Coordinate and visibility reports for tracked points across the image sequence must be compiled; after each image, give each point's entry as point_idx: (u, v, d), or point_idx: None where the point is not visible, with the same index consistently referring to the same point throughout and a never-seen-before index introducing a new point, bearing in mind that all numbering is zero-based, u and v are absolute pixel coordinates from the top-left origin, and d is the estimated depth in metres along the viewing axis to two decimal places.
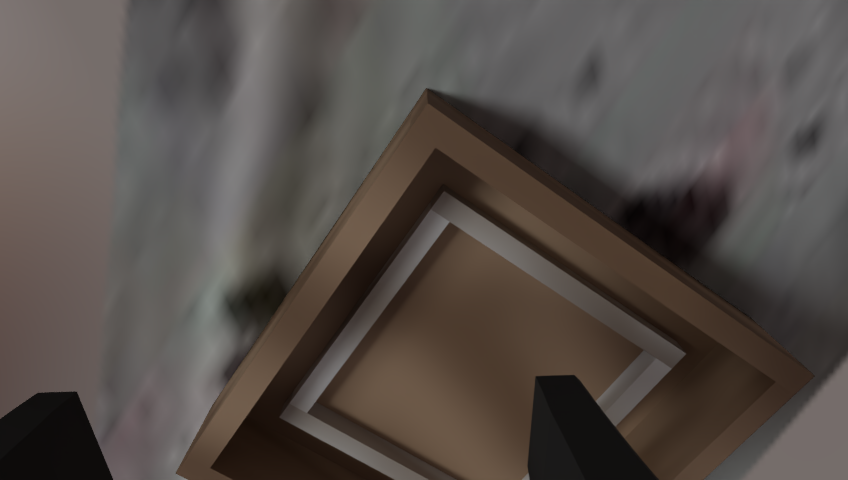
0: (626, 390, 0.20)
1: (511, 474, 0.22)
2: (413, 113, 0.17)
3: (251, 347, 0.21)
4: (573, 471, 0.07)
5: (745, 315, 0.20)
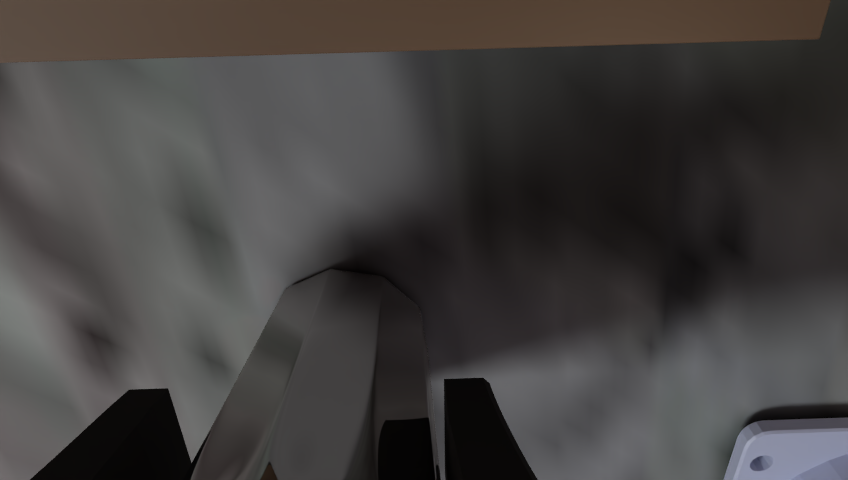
0: None
1: None
2: None
3: None
4: (459, 476, 0.07)
5: None
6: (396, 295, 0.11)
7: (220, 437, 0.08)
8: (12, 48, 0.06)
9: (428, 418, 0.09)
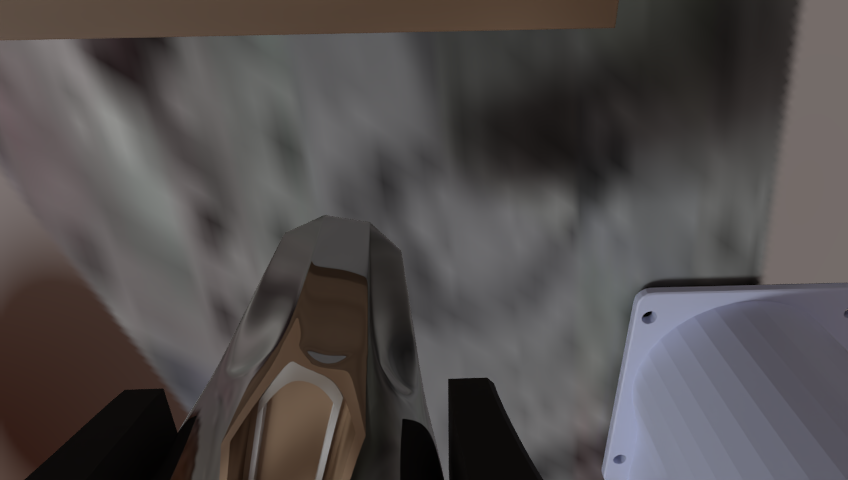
0: None
1: None
2: None
3: None
4: (465, 475, 0.07)
5: None
6: (381, 237, 0.13)
7: (246, 334, 0.10)
8: (230, 28, 0.13)
9: (412, 327, 0.11)
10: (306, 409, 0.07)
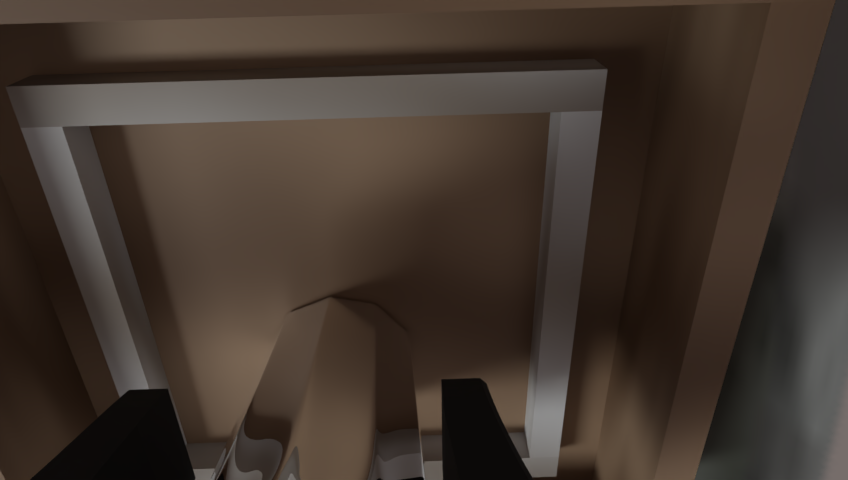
0: (556, 192, 0.11)
1: (506, 391, 0.14)
2: None
3: None
4: (456, 475, 0.07)
5: None
6: (388, 321, 0.13)
7: (244, 449, 0.09)
8: None
9: (419, 432, 0.10)
10: None
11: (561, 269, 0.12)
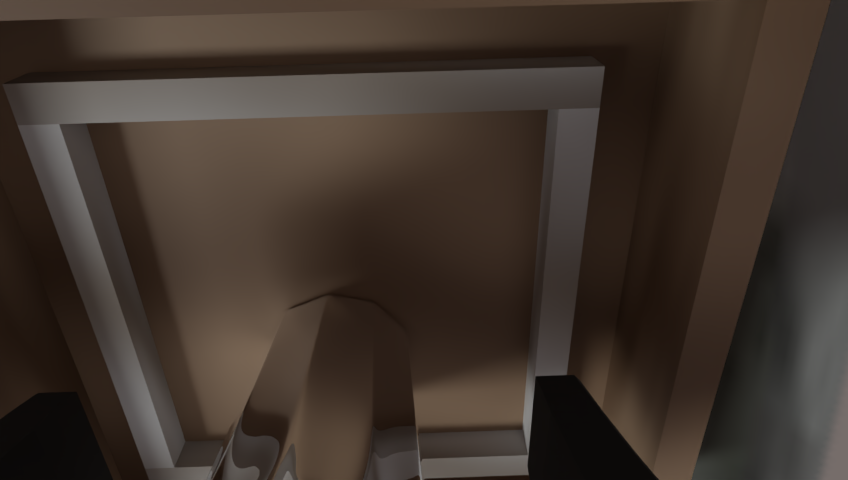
0: (554, 190, 0.11)
1: (505, 389, 0.14)
2: None
3: None
4: (574, 472, 0.07)
5: None
6: (386, 318, 0.13)
7: (241, 446, 0.09)
8: None
9: (416, 430, 0.10)
10: None
11: (559, 266, 0.12)
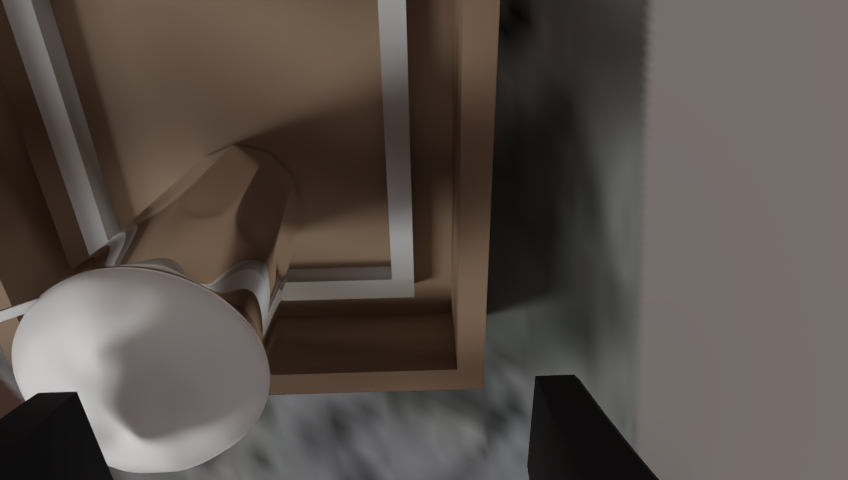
0: (383, 54, 0.15)
1: (374, 229, 0.19)
2: None
3: None
4: (574, 472, 0.07)
5: None
6: (276, 163, 0.17)
7: (151, 208, 0.14)
8: None
9: (281, 218, 0.15)
10: (169, 233, 0.11)
11: (394, 116, 0.16)
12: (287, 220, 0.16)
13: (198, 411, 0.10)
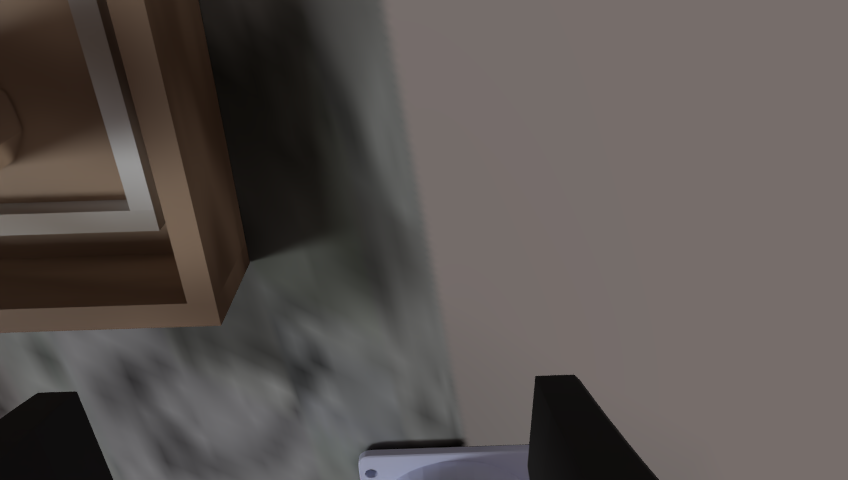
0: None
1: (112, 157, 0.17)
2: None
3: None
4: (574, 472, 0.07)
5: None
6: None
7: None
8: None
9: None
10: None
11: (86, 21, 0.15)
12: None
13: None
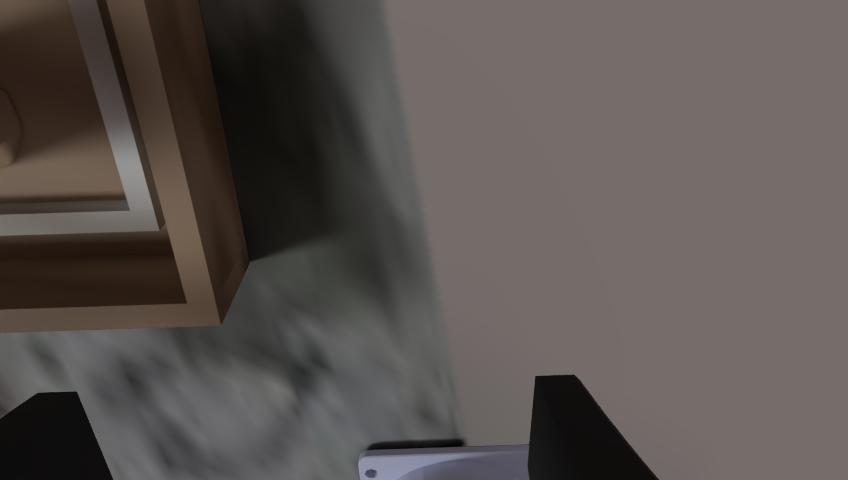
0: None
1: (112, 157, 0.17)
2: None
3: None
4: (574, 472, 0.07)
5: None
6: None
7: None
8: None
9: None
10: None
11: (86, 21, 0.15)
12: None
13: None
